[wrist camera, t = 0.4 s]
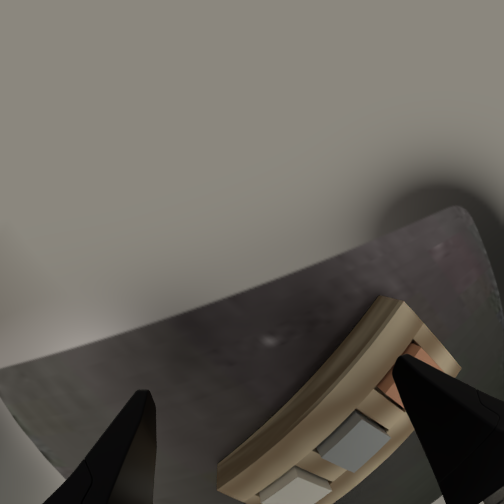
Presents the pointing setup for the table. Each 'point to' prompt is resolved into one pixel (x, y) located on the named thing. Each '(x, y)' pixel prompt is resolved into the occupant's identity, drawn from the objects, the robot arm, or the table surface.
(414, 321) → the wooden slotted tray
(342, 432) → the grey key
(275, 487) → the offwhite key
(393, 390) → the terracotta key
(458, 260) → the table surface
